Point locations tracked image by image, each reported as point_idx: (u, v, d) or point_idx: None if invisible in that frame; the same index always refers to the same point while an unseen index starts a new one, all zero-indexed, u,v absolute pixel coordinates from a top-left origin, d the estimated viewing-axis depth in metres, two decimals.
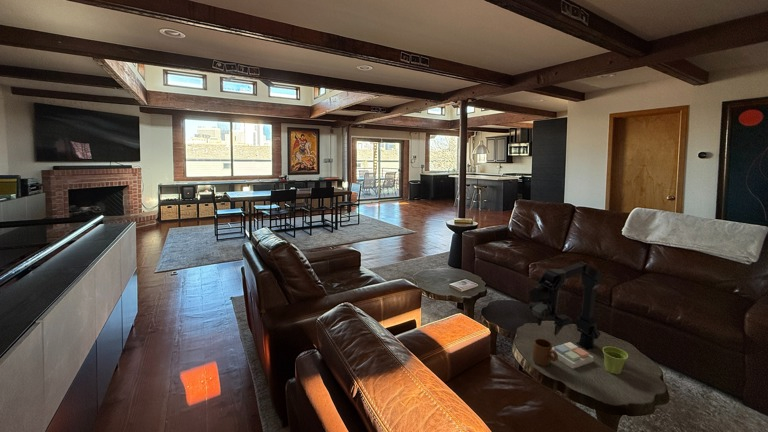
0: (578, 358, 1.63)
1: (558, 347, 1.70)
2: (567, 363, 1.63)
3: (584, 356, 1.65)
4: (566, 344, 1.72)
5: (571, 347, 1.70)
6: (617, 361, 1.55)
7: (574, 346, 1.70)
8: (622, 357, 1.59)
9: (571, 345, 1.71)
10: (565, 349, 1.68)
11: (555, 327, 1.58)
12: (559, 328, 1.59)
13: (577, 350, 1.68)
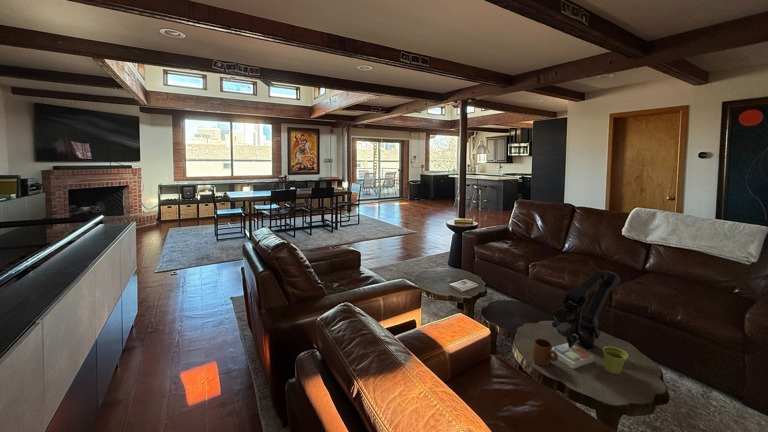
0: (578, 358, 1.63)
1: (558, 347, 1.70)
2: (567, 363, 1.63)
3: (584, 356, 1.65)
4: (566, 346, 1.73)
5: (571, 349, 1.70)
6: (617, 361, 1.55)
7: (573, 349, 1.71)
8: (622, 357, 1.59)
9: None
10: (565, 349, 1.68)
11: (570, 340, 1.70)
12: (574, 341, 1.70)
13: (577, 350, 1.68)
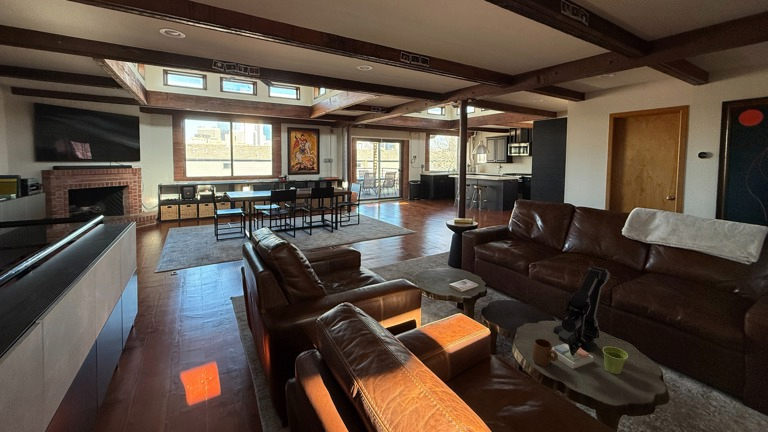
0: (578, 358, 1.63)
1: (558, 347, 1.70)
2: (567, 363, 1.63)
3: (584, 356, 1.65)
4: (566, 346, 1.73)
5: None
6: (617, 361, 1.55)
7: None
8: (622, 357, 1.59)
9: None
10: (565, 349, 1.68)
11: (572, 348, 1.62)
12: (576, 348, 1.63)
13: None
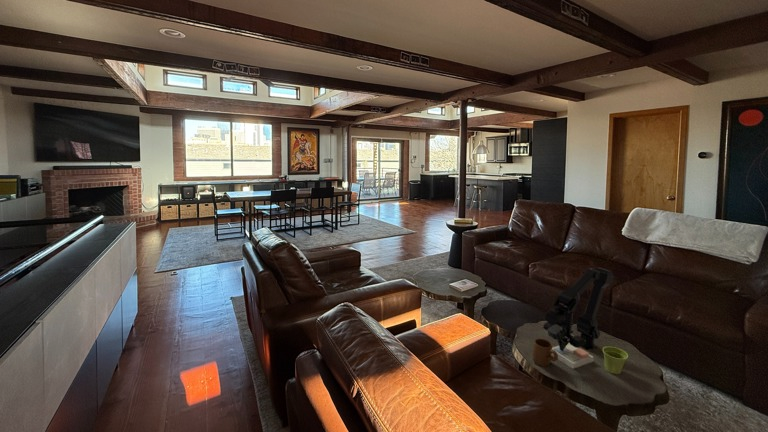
0: None
1: (558, 349, 1.70)
2: (567, 363, 1.63)
3: (584, 356, 1.65)
4: (566, 346, 1.73)
5: (571, 349, 1.70)
6: (617, 361, 1.55)
7: (573, 349, 1.71)
8: (622, 357, 1.59)
9: (571, 348, 1.72)
10: (565, 351, 1.69)
11: (561, 343, 1.68)
12: (565, 344, 1.68)
13: (577, 350, 1.68)
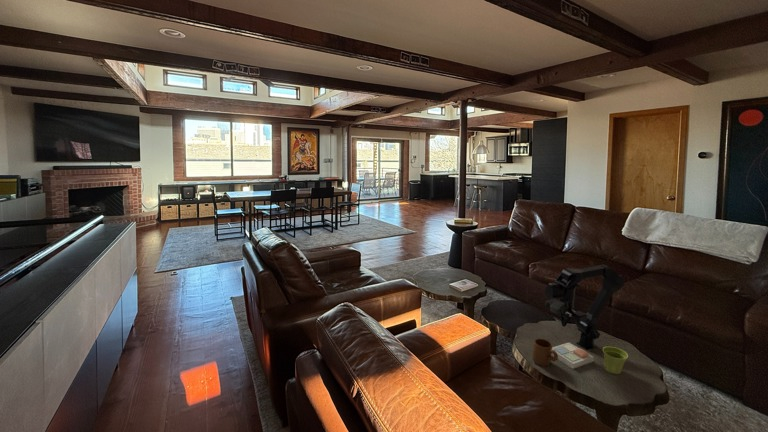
0: None
1: (558, 349, 1.70)
2: (567, 363, 1.63)
3: (584, 356, 1.65)
4: (566, 346, 1.73)
5: (571, 349, 1.70)
6: (617, 361, 1.55)
7: (573, 349, 1.71)
8: (622, 357, 1.59)
9: (571, 348, 1.72)
10: (565, 351, 1.69)
11: (564, 319, 1.71)
12: (567, 320, 1.71)
13: (577, 350, 1.68)
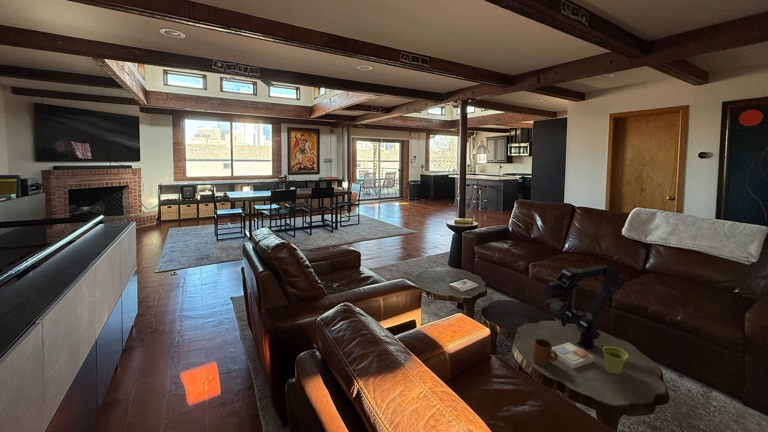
0: None
1: (558, 349, 1.70)
2: (567, 363, 1.63)
3: (584, 356, 1.65)
4: (566, 346, 1.73)
5: (571, 349, 1.70)
6: (617, 361, 1.55)
7: (573, 349, 1.71)
8: (622, 357, 1.59)
9: (571, 348, 1.72)
10: (565, 351, 1.69)
11: (563, 319, 1.71)
12: (567, 319, 1.72)
13: (577, 350, 1.68)
